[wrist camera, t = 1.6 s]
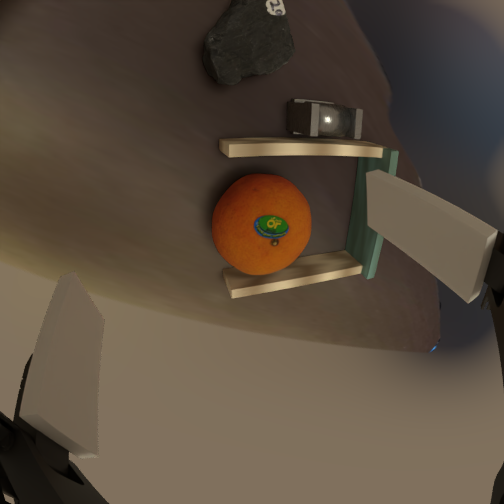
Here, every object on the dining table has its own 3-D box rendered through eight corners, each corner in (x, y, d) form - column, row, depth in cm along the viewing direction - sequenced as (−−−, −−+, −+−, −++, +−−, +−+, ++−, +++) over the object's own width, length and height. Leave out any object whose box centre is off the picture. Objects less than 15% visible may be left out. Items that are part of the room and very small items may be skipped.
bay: (223, 277, 37) (235, 306, 32) (219, 138, 29) (233, 147, 24) (350, 256, 42) (373, 277, 37) (367, 141, 34) (398, 151, 29)
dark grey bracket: (286, 133, 30) (310, 140, 26) (287, 98, 28) (312, 99, 24) (332, 134, 32) (360, 142, 27) (333, 102, 30) (362, 106, 25)
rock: (260, -11, 21) (281, -29, 16) (290, 67, 27) (316, 62, 22) (179, 9, 21) (184, -10, 16) (212, 91, 26) (224, 88, 21)
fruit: (288, 245, 38) (317, 279, 31) (208, 256, 35) (222, 296, 28) (294, 164, 33) (330, 183, 26) (203, 168, 30) (218, 190, 23)
